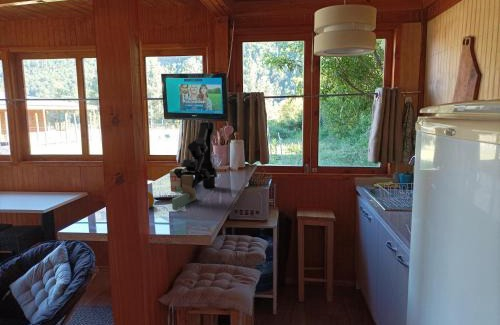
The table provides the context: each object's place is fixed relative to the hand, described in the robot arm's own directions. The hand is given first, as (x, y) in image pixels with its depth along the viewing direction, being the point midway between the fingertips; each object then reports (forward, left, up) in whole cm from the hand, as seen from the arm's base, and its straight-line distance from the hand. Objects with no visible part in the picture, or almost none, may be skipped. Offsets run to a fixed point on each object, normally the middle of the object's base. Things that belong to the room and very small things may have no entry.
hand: (186, 187), depth 186 cm
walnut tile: (-1, -1, -7) cm, 7 cm away
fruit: (+22, 0, -8) cm, 24 cm away
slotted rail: (+2, +2, -8) cm, 8 cm away
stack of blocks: (-3, -39, -8) cm, 40 cm away
